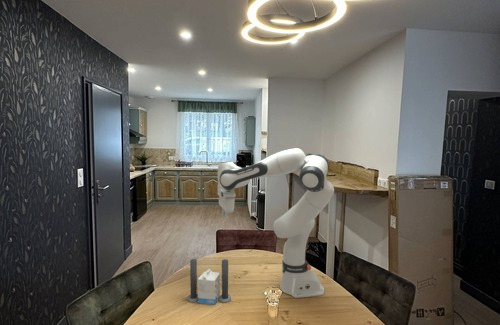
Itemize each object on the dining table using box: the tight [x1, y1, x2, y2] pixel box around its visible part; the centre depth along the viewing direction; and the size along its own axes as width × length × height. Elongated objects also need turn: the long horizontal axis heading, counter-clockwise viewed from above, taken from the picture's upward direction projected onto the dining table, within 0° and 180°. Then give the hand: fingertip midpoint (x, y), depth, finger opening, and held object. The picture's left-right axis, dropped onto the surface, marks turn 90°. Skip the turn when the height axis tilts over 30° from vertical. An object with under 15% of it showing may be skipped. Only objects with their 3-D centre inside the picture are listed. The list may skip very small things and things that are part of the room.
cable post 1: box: [186, 258, 198, 304], centre depth 130 cm, size 6×6×19 cm
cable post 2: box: [218, 258, 232, 304], centre depth 130 cm, size 6×6×19 cm
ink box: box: [197, 268, 221, 306], centre depth 130 cm, size 9×8×13 cm
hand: (225, 216), depth 147 cm, fingers open, 3 cm apart
